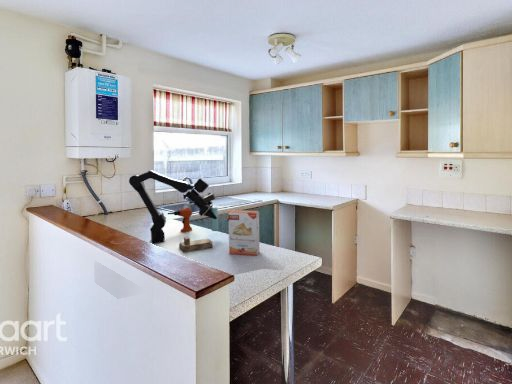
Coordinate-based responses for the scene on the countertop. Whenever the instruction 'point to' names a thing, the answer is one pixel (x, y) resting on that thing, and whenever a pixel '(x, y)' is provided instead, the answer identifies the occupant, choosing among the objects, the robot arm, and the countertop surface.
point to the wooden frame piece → (195, 247)
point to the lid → (194, 242)
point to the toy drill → (186, 214)
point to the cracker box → (243, 232)
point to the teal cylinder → (214, 221)
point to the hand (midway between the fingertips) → (216, 218)
